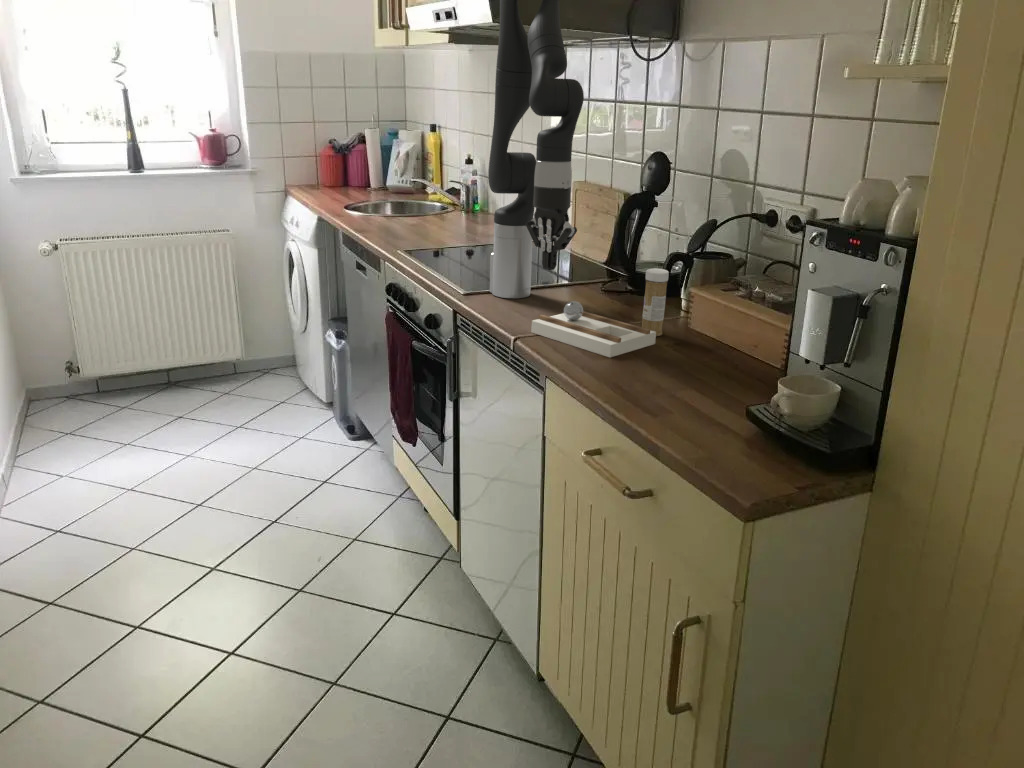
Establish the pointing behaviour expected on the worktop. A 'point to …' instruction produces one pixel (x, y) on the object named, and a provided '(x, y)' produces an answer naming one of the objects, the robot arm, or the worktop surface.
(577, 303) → the ball
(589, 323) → the track board
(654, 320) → the sprinkles bottle
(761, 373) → the worktop surface
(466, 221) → the worktop surface
